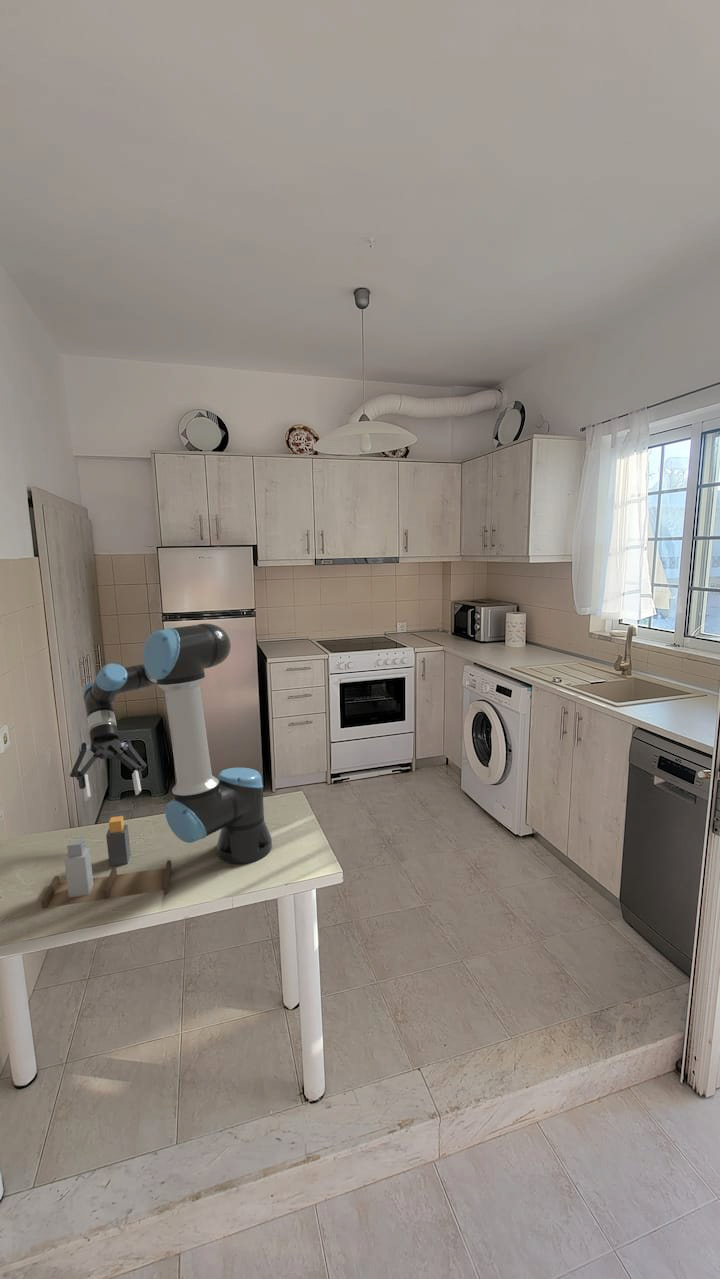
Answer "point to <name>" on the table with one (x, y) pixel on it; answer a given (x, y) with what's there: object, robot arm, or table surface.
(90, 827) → the table surface
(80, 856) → the grey plug
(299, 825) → the table surface
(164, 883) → the brown wooden tray
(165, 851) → the table surface
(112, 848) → the charcoal plug
